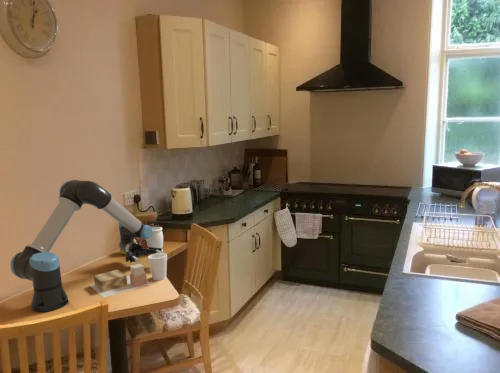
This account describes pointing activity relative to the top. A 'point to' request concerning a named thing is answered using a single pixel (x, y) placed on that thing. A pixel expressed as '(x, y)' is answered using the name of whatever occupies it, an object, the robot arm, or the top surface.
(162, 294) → the top surface
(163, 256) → the foam cup
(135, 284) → the terracotta tower
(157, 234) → the jar
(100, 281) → the oak plinth
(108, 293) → the white board
